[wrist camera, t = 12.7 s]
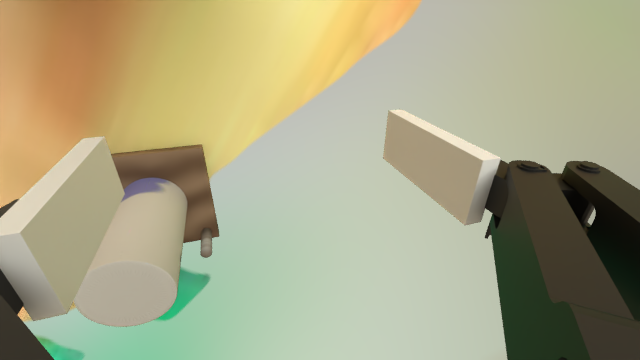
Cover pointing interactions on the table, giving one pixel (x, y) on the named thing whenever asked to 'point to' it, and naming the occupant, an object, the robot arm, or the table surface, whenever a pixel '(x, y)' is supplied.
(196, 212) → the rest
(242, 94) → the table surface
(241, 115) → the table surface
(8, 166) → the table surface
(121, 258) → the container
